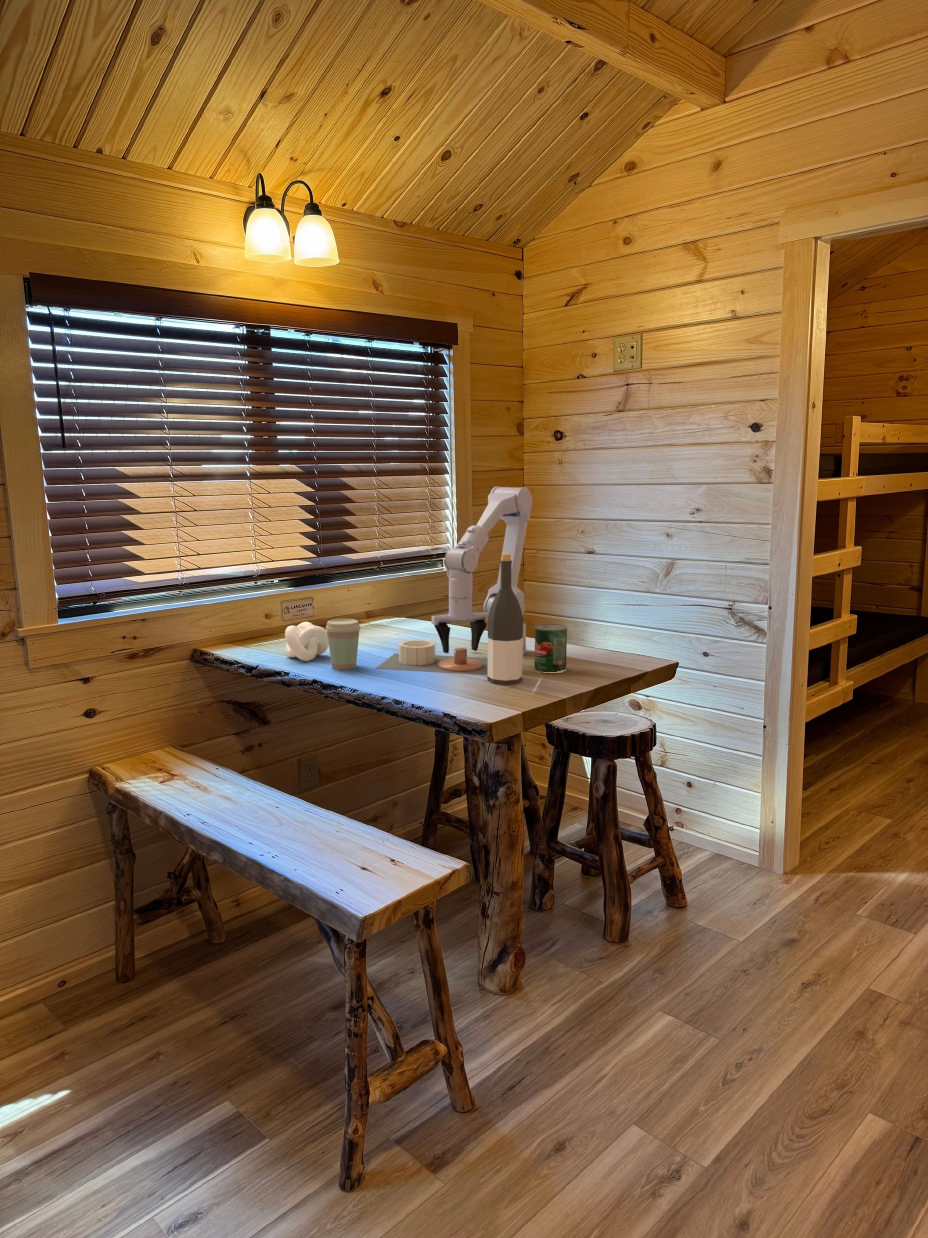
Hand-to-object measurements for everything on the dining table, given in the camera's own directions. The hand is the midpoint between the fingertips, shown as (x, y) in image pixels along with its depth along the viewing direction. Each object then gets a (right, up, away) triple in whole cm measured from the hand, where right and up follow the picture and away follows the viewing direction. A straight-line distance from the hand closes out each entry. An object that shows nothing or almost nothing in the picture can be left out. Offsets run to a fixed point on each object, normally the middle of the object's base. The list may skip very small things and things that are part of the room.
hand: (460, 651), depth 208 cm
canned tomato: (+22, -5, -1) cm, 23 cm away
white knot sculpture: (-41, -3, +11) cm, 42 cm away
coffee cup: (-29, -5, 0) cm, 29 cm away
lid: (0, -4, +1) cm, 4 cm away
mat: (-5, -4, +4) cm, 8 cm away
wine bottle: (+10, -7, -12) cm, 18 cm away
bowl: (-11, -3, +6) cm, 13 cm away
